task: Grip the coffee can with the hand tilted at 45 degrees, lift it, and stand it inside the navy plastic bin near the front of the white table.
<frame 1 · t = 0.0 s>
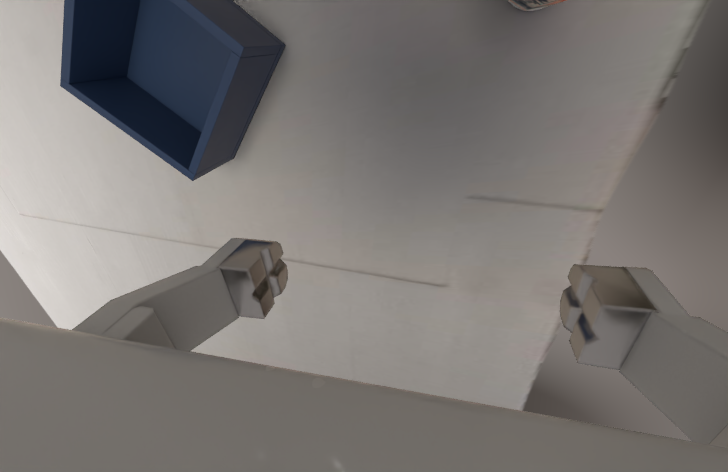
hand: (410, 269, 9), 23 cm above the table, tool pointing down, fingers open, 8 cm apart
bin: (198, 62, 31), on the table
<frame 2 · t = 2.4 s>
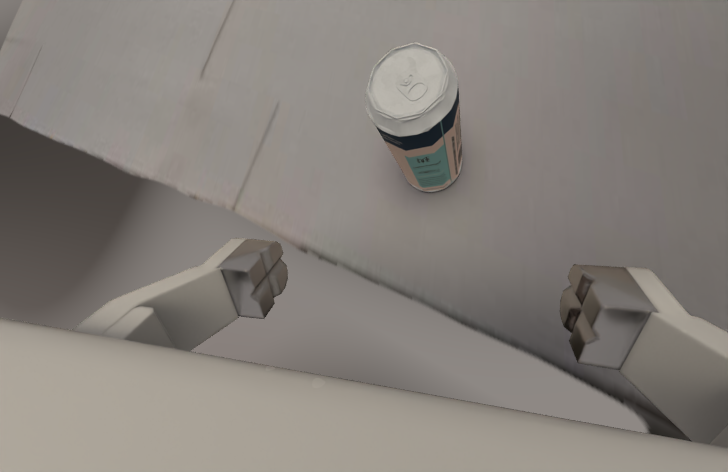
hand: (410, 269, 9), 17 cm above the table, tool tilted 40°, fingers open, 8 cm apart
coffee can: (432, 166, 27), on the table
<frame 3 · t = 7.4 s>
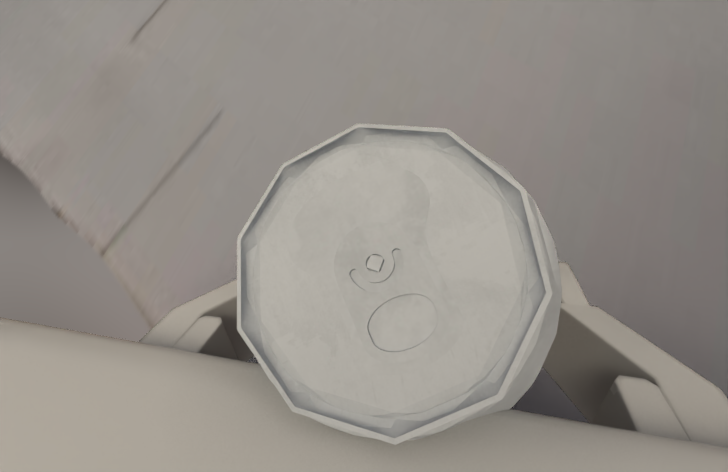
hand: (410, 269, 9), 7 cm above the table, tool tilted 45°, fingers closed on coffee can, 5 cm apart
coffee can: (421, 301, 15), on the table, touching gripper
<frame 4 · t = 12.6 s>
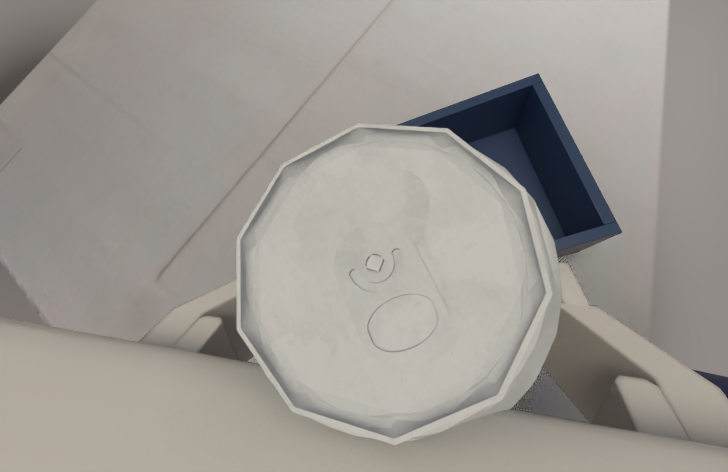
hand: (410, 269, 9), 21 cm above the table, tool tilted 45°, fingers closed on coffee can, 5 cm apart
coffee can: (421, 301, 15), point 14 cm above the table, touching gripper
bin: (473, 205, 30), on the table
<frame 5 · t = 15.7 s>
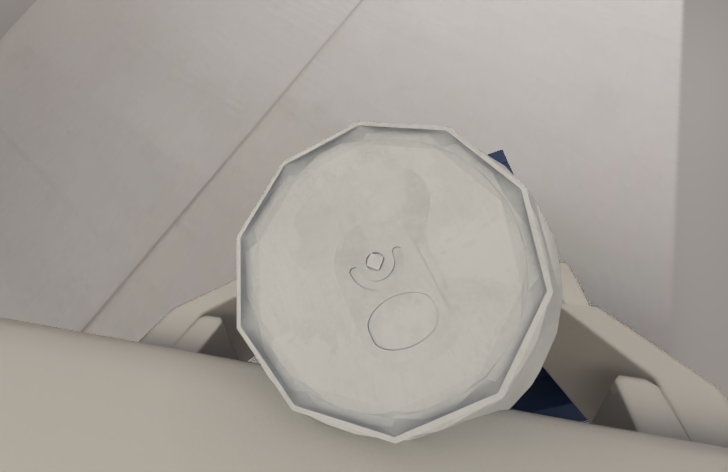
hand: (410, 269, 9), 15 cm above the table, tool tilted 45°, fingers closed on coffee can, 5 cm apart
coffee can: (421, 301, 15), point 8 cm above the table, touching gripper
bin: (426, 306, 23), on the table
when the fingers open (7 cm above the table, at t = 18.3 s): coffee can stays where it is, resting on bin.
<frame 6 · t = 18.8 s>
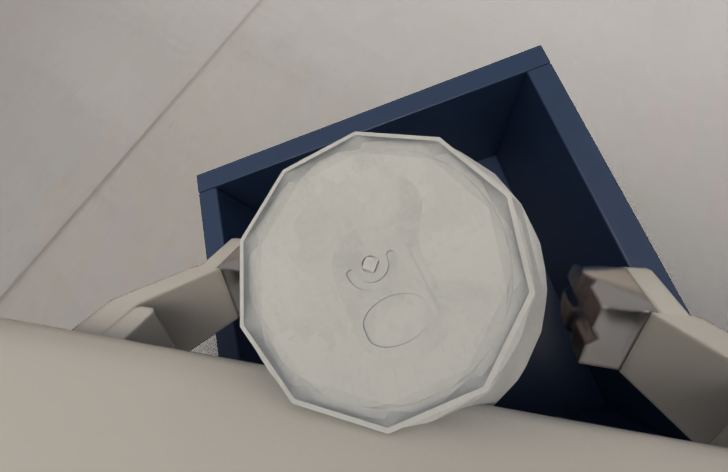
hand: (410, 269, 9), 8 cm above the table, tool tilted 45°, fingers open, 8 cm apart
coffee can: (418, 301, 16), point 1 cm above the table, touching bin
bin: (419, 301, 16), on the table
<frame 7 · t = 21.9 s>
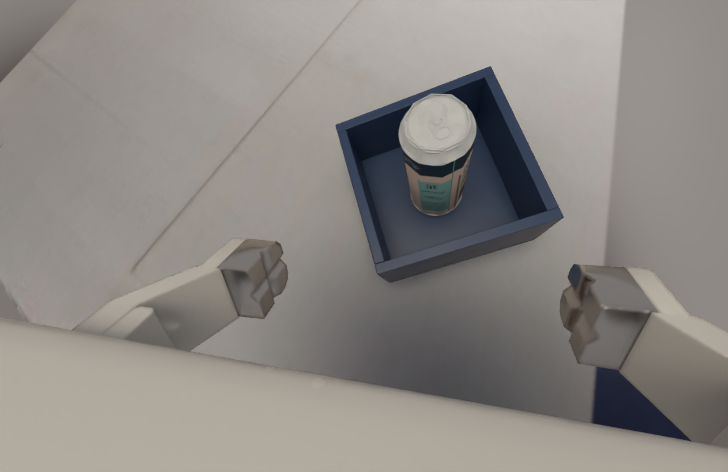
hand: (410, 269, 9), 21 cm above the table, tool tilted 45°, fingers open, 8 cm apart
coffee can: (435, 194, 31), point 1 cm above the table, touching bin
bin: (436, 196, 31), on the table
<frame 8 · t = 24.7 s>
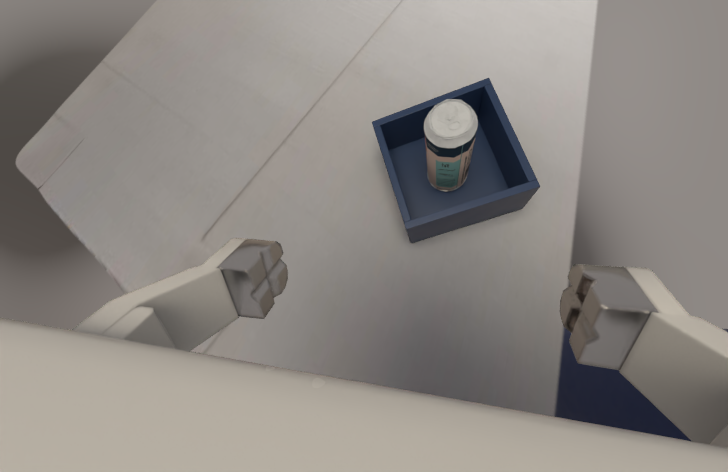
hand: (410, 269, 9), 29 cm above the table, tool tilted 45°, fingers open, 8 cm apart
coffee can: (446, 175, 40), point 1 cm above the table, touching bin
bin: (446, 177, 40), on the table
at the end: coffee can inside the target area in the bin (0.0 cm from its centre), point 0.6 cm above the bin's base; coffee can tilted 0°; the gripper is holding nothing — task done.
